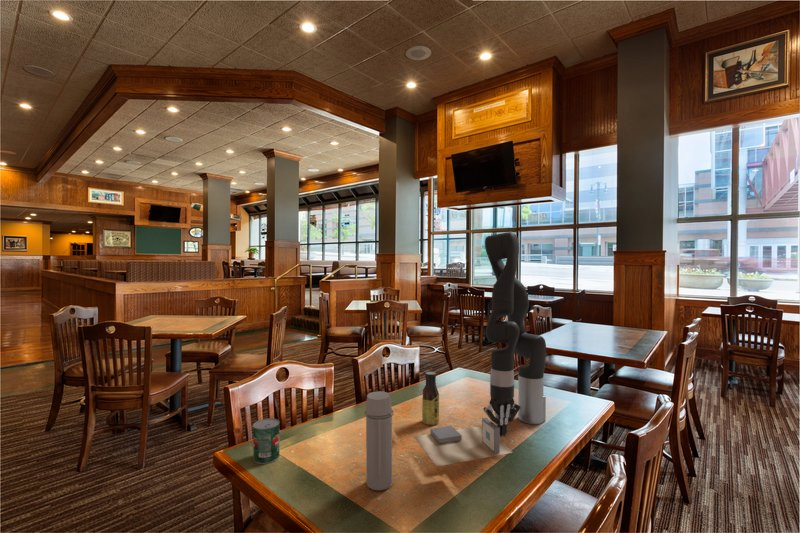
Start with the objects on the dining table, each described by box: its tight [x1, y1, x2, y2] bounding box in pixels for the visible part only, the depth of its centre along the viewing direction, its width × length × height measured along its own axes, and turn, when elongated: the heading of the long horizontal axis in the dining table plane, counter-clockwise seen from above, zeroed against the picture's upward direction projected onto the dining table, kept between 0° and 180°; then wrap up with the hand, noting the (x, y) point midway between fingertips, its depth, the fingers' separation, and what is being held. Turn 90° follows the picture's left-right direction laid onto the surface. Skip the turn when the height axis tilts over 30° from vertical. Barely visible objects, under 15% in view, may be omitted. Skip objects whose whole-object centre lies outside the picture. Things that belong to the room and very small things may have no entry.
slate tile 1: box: [429, 425, 462, 444], centre depth 131 cm, size 2×8×8 cm
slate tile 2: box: [481, 417, 501, 454], centre depth 124 cm, size 2×8×8 cm, turn 18°
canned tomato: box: [252, 417, 281, 465], centre depth 121 cm, size 8×8×11 cm
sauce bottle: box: [421, 371, 440, 427], centre depth 143 cm, size 7×6×20 cm
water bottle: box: [364, 390, 394, 492], centre depth 105 cm, size 9×8×25 cm
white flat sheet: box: [413, 425, 514, 467], centre depth 126 cm, size 26×20×2 cm
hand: (501, 434), depth 125 cm, fingers closed
